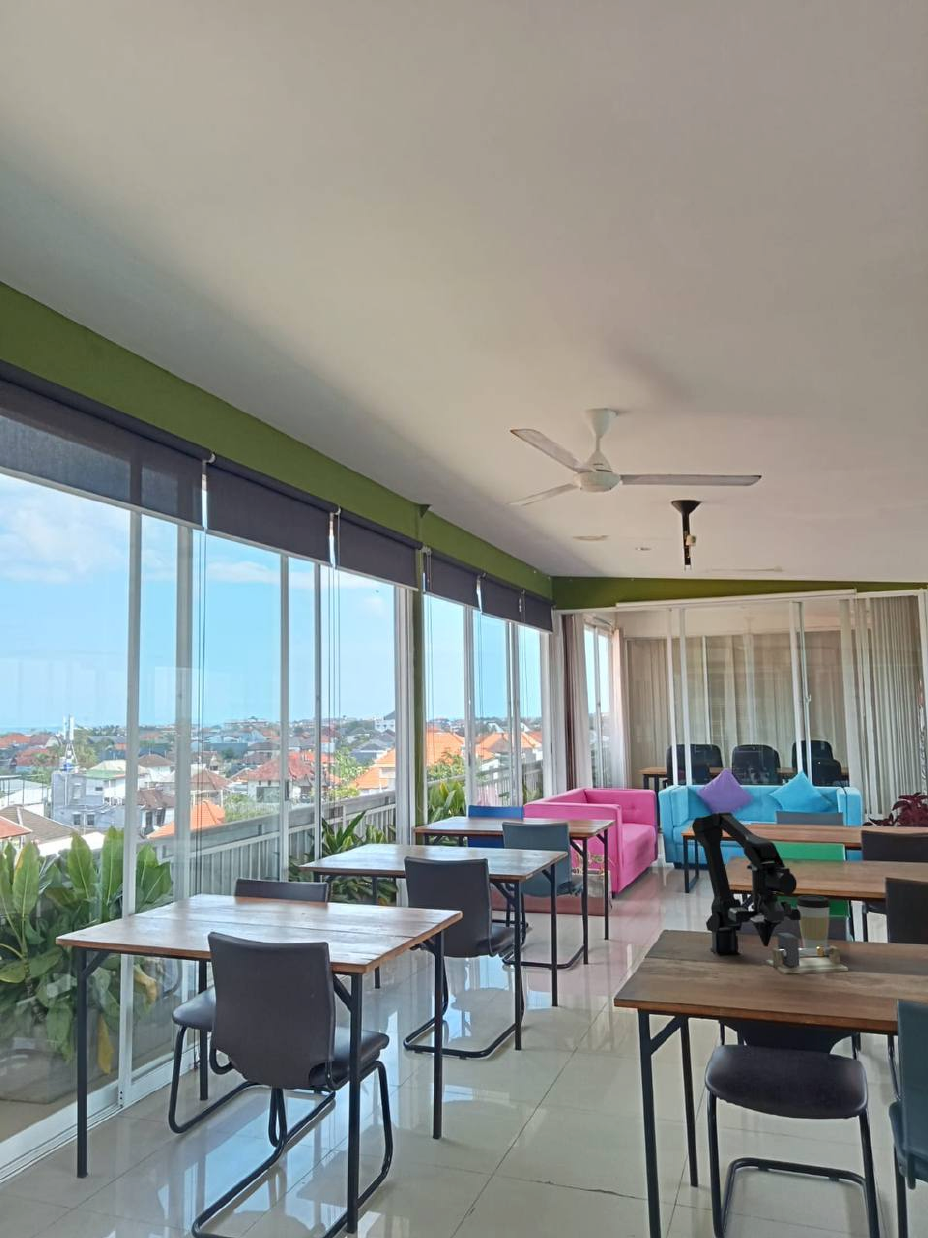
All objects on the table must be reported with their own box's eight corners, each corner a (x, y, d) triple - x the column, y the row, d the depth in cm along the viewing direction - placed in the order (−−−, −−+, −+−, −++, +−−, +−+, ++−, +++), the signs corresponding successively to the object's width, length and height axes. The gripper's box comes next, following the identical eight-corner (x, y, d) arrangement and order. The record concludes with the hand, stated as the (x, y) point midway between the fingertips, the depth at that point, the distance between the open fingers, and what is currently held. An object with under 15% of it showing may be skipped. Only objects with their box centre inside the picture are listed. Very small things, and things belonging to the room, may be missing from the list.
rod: (777, 959, 250) (776, 950, 251) (773, 956, 253) (772, 947, 253) (839, 956, 253) (838, 947, 253) (834, 954, 255) (834, 945, 255)
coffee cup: (827, 946, 274) (825, 894, 275) (837, 955, 264) (834, 901, 266) (793, 945, 275) (791, 894, 276) (802, 954, 265) (800, 901, 267)
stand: (784, 974, 246) (784, 955, 246) (766, 963, 257) (765, 944, 257) (847, 971, 248) (846, 952, 248) (827, 960, 259) (826, 942, 259)
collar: (789, 966, 249) (787, 938, 249) (778, 960, 255) (777, 933, 255) (799, 966, 249) (798, 938, 250) (789, 960, 255) (787, 932, 256)
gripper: (743, 895, 244) (745, 955, 242) (809, 892, 246) (812, 952, 245) (726, 887, 255) (728, 944, 253) (790, 884, 257) (792, 941, 256)
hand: (765, 946), depth 252 cm, fingers closed
